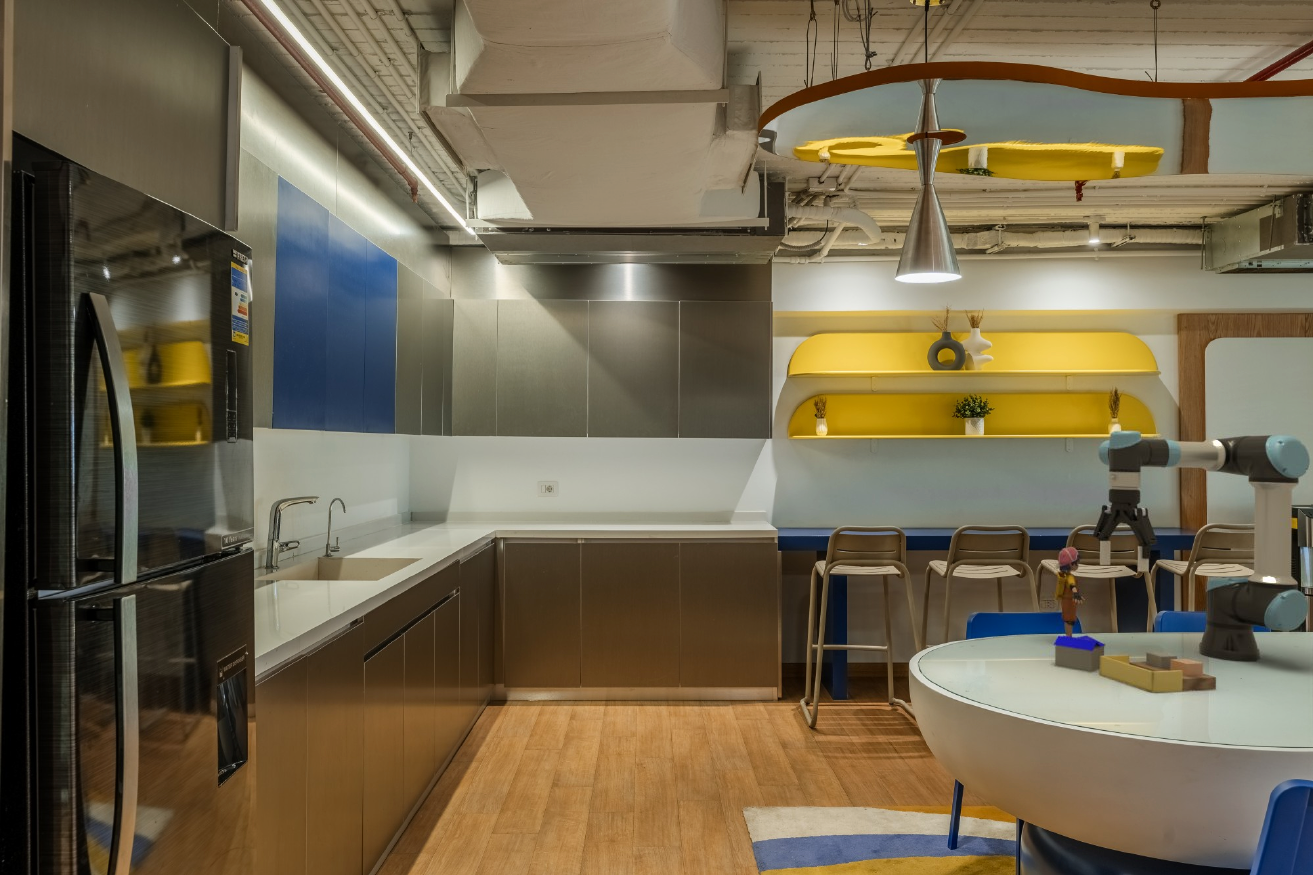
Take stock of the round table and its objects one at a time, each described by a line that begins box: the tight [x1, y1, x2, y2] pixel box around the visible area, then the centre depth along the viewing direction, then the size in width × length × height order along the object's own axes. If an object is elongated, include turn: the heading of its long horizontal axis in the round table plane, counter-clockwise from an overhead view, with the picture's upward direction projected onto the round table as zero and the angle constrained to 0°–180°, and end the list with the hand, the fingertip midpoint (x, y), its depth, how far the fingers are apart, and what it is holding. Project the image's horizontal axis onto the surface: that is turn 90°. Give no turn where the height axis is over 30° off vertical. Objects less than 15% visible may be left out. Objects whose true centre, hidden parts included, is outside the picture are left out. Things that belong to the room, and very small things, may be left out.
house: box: [1053, 634, 1106, 673], centre depth 248 cm, size 11×11×8 cm
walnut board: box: [1129, 661, 1217, 692], centre depth 232 cm, size 10×18×3 cm, turn 14°
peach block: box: [1170, 658, 1204, 676], centre depth 229 cm, size 5×5×3 cm
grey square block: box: [1145, 651, 1178, 668], centre depth 236 cm, size 5×5×3 cm
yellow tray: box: [1098, 654, 1183, 694], centre depth 230 cm, size 9×18×5 cm, turn 14°
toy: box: [1053, 546, 1086, 637], centre depth 277 cm, size 24×7×30 cm, turn 168°
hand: (1123, 568), depth 241 cm, fingers open, 13 cm apart
